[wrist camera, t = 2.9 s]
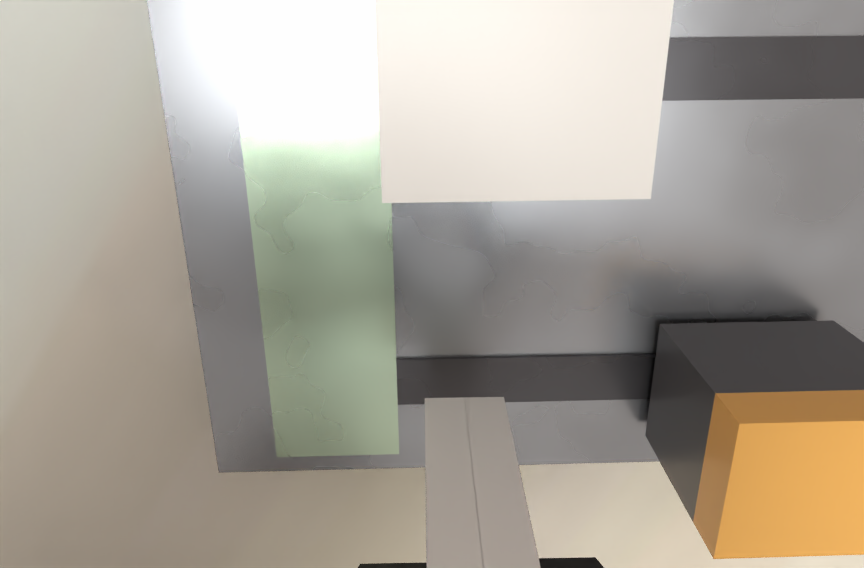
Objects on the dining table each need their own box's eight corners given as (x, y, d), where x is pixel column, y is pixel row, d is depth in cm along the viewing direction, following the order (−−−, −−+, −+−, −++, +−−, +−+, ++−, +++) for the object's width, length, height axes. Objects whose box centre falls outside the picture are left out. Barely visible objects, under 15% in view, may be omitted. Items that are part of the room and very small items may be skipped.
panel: (234, 435, 18) (217, 475, 17) (99, -533, 11) (49, -622, 10) (1131, 413, 19) (1197, 450, 17) (1545, -514, 12) (1720, -596, 10)
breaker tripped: (645, 435, 16) (713, 559, 13) (659, 323, 15) (739, 423, 12) (807, 431, 17) (921, 552, 13) (833, 320, 15) (967, 418, 12)
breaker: (389, 151, 14) (381, 203, 10) (384, -12, 13) (373, -21, 9) (586, 148, 14) (651, 199, 10) (598, -13, 13) (676, -22, 9)
